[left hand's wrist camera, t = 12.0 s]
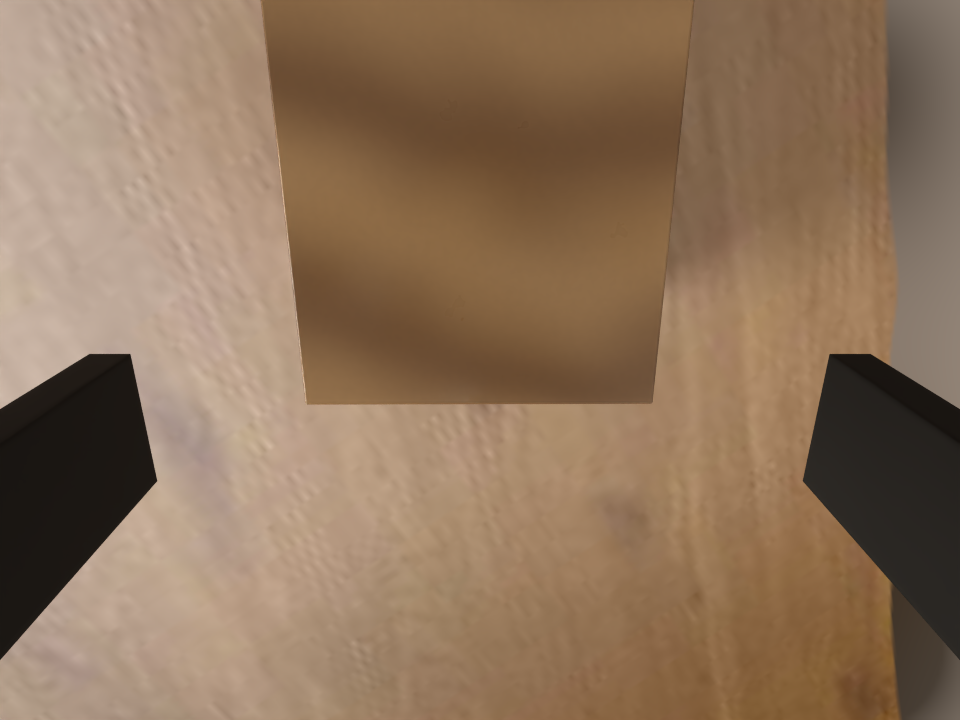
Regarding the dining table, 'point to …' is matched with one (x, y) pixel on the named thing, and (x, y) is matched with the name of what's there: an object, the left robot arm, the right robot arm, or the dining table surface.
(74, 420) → the left robot arm
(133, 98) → the dining table surface
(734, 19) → the dining table surface
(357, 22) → the cabinet
